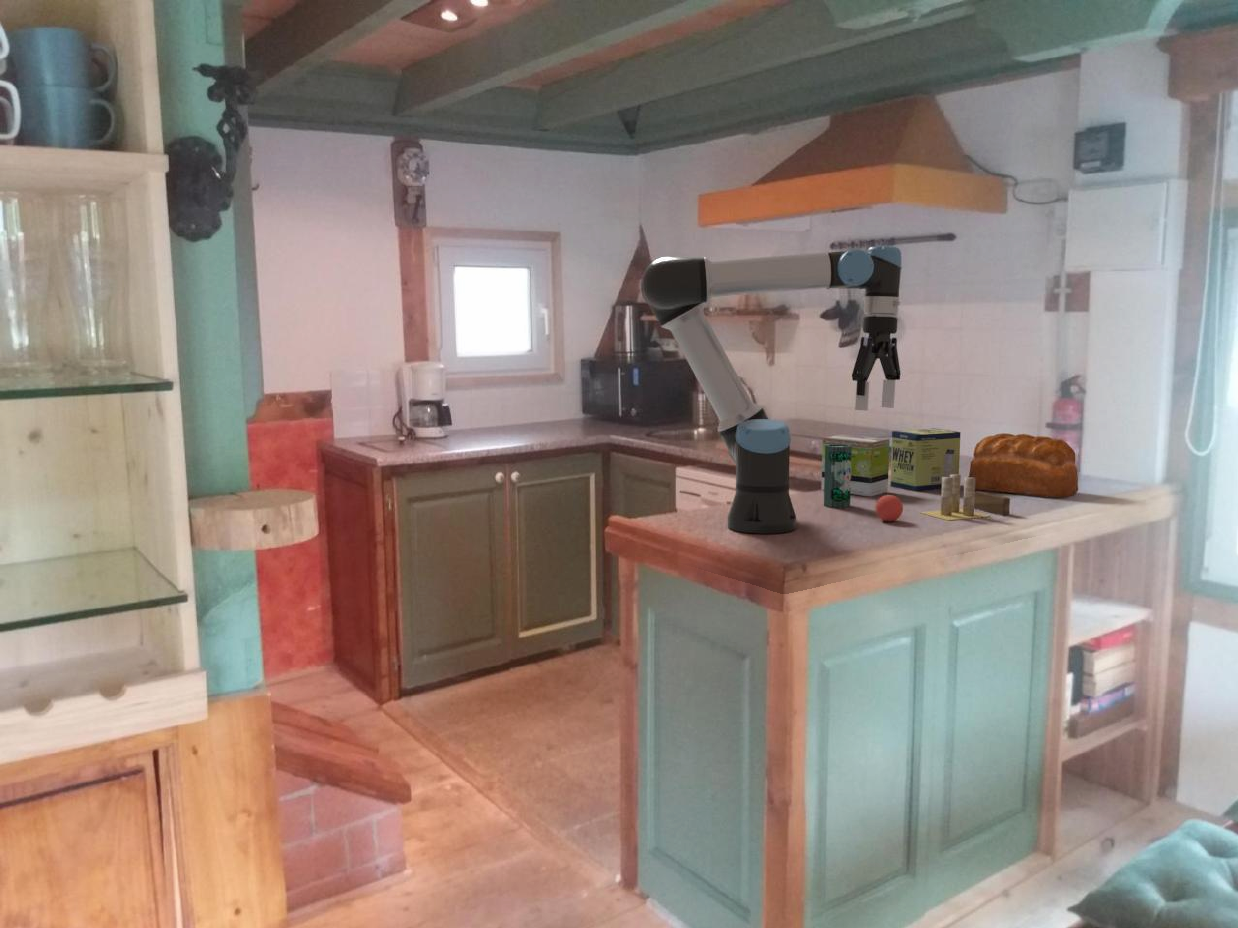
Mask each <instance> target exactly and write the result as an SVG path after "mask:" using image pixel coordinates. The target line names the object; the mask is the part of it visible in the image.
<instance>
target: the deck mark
mask: <svg viewBox="0 0 1238 928" xmlns="http://www.w3.org/2000/svg"><path fill="white" fill-rule="evenodd" d="M919 513H920V514H922V515H925V516H930V517H933V518H937V519H940V520H944V521H947V522H948V521H950V522H951V521H959V520H960V521H961V520H972V519H981V517H983V518H989V517H991V515H988V514H984V513H981V512H976V511H974V516H963V508H959V512H958V513H953V512H952V515H951V516H943V515H941V509H940V510H932V511H929V510H928V511H920V512H919ZM971 518H972V519H971Z"/></svg>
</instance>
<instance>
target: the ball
mask: <svg viewBox="0 0 1238 928" xmlns="http://www.w3.org/2000/svg"><path fill="white" fill-rule="evenodd" d="M903 510H904V506H903V502H902V501H901V500H900V498H898V496H895V495H894V494H886V495H883V496H881V497H879V499H878V500H877V501H876V504H875V513H876V515H877V516H878V517H879V518H880V519H881V520H882V521H885V522H894V521H896V520H898V519H900V517H901V516H902V513H903Z"/></svg>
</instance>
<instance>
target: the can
mask: <svg viewBox="0 0 1238 928" xmlns="http://www.w3.org/2000/svg"><path fill="white" fill-rule="evenodd" d="M851 456H852V446H851V445H845V444H830V445H825V478H824V490H823V506H824V507H827V508H831V507H833V509H836V508H837V509H845V508H850V507H851V495H852V494H851Z"/></svg>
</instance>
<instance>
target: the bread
mask: <svg viewBox="0 0 1238 928" xmlns="http://www.w3.org/2000/svg"><path fill="white" fill-rule="evenodd" d="M1076 458H1077V457H1076V452H1075V450H1074V449H1073V448H1072V447H1071V446H1070V444H1068V443H1067V442H1066V441H1065V440H1063V439H1062V438H1061V439H1059V438H1058V439H1057V438H1052V437H1049V436H1042V435H1039V436H1038V435H1037V436H1033V435H1030V434H1027V433H1021V434H1011V433H1005V432H1004V433H996V434H994V435H989V436H986V437H983V438H982V439H981V440H980V441H978V442H977V443H976V444H975V446H974V450H973V458H972V460H971V462H970V466H969V473H968V477H972V478H975V490H978V491H979V490H980V491H988V492H996V493H1005V492H1006V494H1013V495H1014V494H1015V495H1024V494H1025V495H1026V496H1032V497H1033V496H1034V497H1041V498H1049V499H1065V498H1068V497H1072V496H1074V495H1076V494H1077V492H1078V491H1079V475H1078V474H1079V473H1078V468H1077V466H1076Z"/></svg>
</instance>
